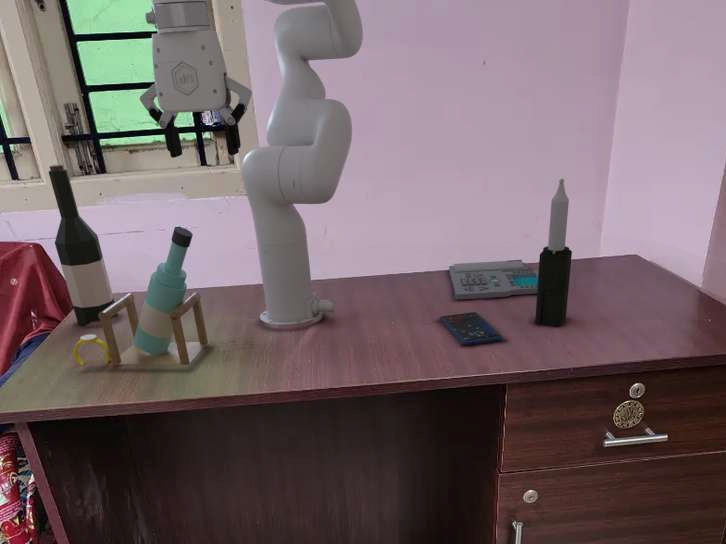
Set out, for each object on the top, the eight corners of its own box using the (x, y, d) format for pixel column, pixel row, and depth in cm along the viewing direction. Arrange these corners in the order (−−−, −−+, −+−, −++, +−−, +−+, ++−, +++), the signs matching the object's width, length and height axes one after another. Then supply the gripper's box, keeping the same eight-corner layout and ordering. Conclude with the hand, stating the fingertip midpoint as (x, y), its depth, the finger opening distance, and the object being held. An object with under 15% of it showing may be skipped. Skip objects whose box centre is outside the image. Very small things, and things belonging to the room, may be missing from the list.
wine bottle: (106, 327, 146) (63, 168, 130) (70, 327, 148) (23, 169, 132) (126, 314, 153) (87, 161, 137) (91, 314, 155) (49, 163, 139)
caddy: (210, 347, 133) (200, 291, 128) (189, 370, 124) (177, 311, 119) (137, 347, 136) (124, 292, 130) (111, 370, 126) (95, 312, 121)
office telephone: (448, 259, 167) (534, 255, 166) (448, 271, 168) (533, 266, 168) (456, 287, 147) (553, 282, 146) (456, 300, 149) (552, 295, 148)
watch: (77, 373, 126) (67, 340, 123) (81, 367, 129) (72, 335, 125) (111, 370, 126) (102, 338, 123) (115, 364, 129) (106, 332, 125)
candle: (566, 318, 136) (580, 176, 122) (560, 327, 132) (573, 181, 119) (540, 316, 138) (550, 175, 124) (533, 324, 134) (543, 180, 121)
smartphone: (475, 311, 139) (503, 336, 127) (475, 315, 140) (503, 341, 127) (438, 316, 138) (462, 342, 126) (438, 320, 139) (462, 346, 126)
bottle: (217, 347, 130) (197, 223, 119) (206, 359, 125) (183, 231, 114) (145, 345, 132) (118, 223, 121) (131, 358, 127) (101, 232, 116)
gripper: (113, 24, 99) (142, 161, 108) (233, 15, 96) (252, 156, 105) (136, 24, 105) (161, 154, 114) (249, 16, 102) (266, 149, 112)
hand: (205, 154), depth 110 cm, fingers open, 8 cm apart
